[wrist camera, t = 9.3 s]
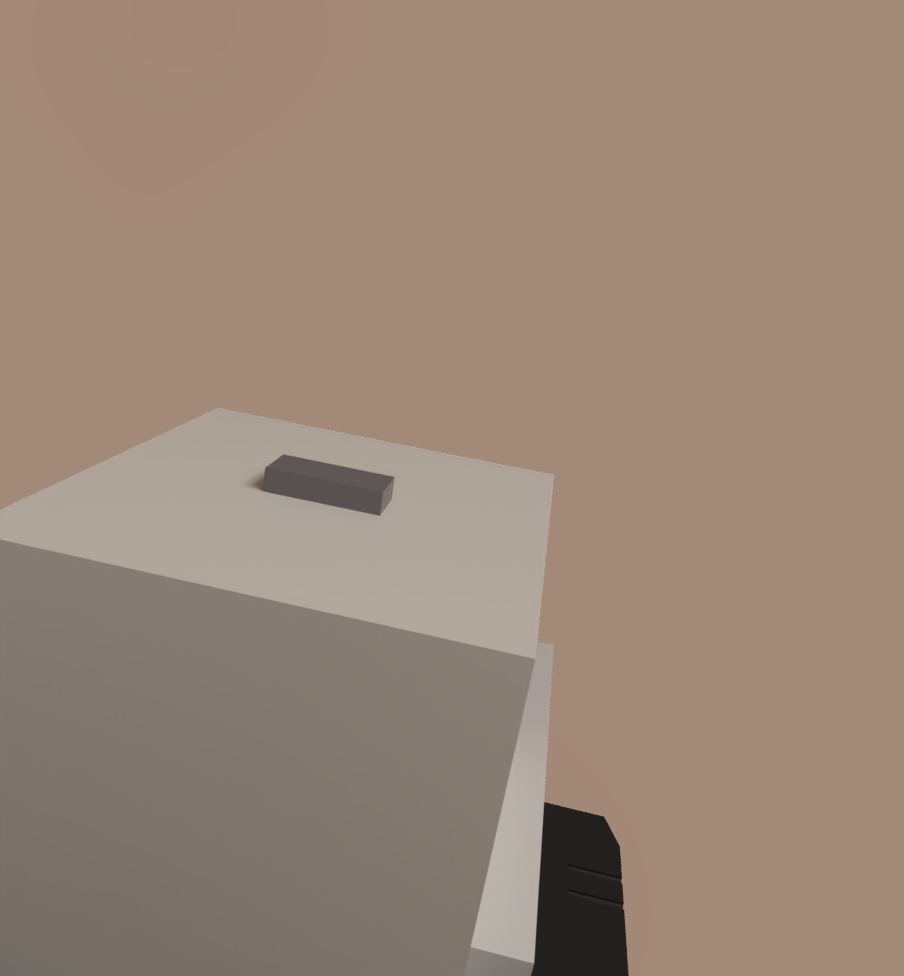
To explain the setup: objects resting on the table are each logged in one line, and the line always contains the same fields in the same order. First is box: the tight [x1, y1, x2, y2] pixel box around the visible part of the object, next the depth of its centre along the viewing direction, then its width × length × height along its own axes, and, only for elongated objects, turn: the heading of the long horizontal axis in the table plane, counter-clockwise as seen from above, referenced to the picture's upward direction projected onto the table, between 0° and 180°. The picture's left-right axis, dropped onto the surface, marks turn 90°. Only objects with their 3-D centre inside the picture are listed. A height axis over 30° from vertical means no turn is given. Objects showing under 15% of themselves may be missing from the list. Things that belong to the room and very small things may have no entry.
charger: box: [0, 408, 554, 976], centre depth 10 cm, size 4×4×13 cm
